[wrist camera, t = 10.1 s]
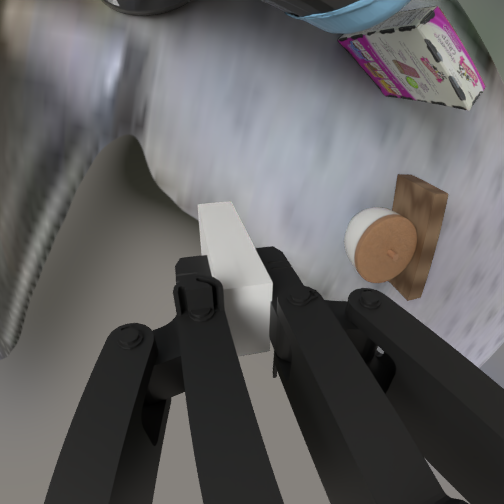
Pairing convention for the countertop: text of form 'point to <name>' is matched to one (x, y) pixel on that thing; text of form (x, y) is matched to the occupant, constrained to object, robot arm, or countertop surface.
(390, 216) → the lidded jar
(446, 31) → the candy bar box
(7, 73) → the countertop surface
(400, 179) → the board
